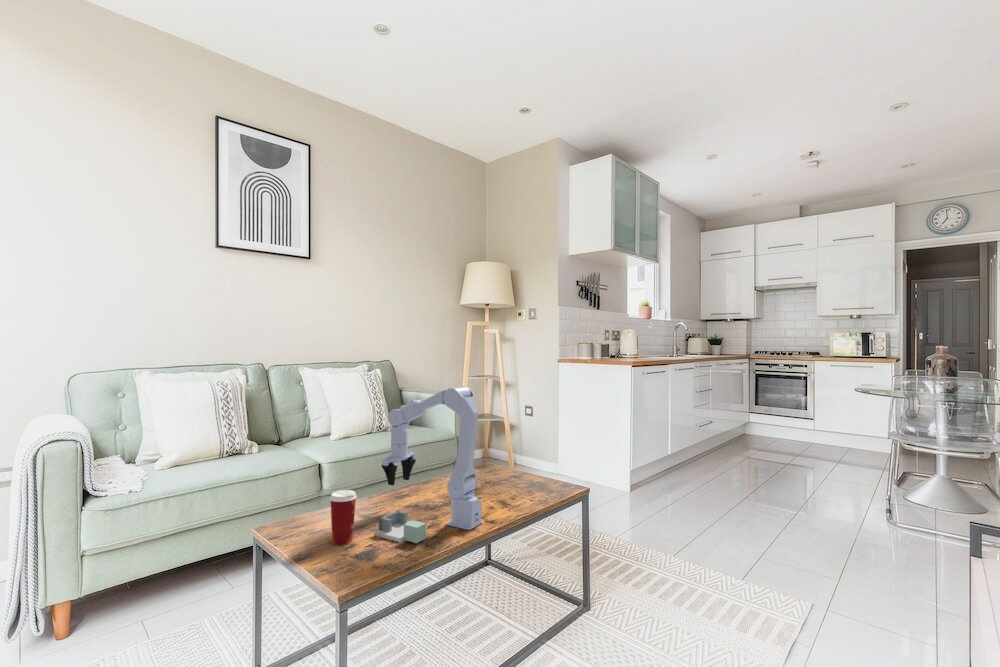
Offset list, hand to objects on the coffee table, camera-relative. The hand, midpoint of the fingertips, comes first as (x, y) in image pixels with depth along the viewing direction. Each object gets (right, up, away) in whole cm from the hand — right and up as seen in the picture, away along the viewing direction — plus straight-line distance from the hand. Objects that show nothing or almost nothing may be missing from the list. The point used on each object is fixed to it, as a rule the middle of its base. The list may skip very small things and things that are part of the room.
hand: (398, 482), depth 166 cm
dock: (+5, -9, -20) cm, 22 cm away
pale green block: (+10, -9, -26) cm, 30 cm away
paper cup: (-11, -9, -27) cm, 30 cm away
